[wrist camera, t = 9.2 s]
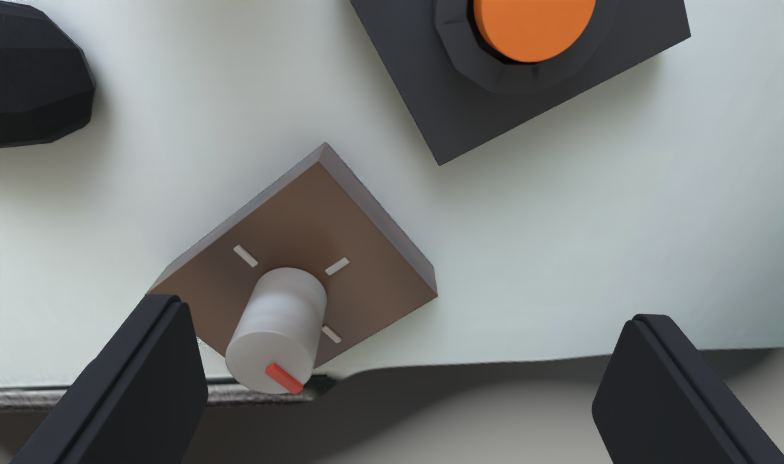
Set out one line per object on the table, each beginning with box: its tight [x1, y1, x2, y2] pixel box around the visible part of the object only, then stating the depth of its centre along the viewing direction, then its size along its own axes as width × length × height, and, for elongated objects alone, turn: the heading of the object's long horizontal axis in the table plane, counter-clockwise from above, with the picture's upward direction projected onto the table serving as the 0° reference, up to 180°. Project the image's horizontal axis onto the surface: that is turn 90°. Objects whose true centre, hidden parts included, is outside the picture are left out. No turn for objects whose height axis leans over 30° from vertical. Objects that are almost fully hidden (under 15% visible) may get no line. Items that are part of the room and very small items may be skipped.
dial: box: [225, 267, 327, 395], centre depth 22 cm, size 4×4×5 cm
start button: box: [473, 0, 596, 62], centre depth 16 cm, size 4×4×2 cm
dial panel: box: [145, 142, 438, 370], centre depth 26 cm, size 13×10×3 cm
